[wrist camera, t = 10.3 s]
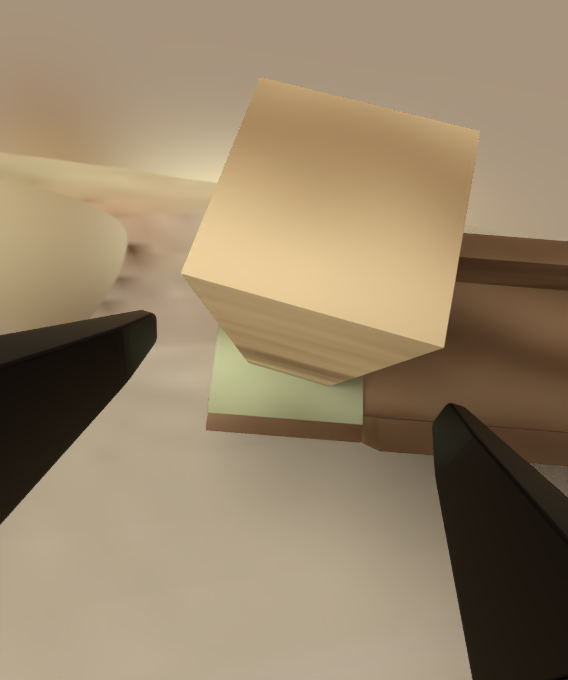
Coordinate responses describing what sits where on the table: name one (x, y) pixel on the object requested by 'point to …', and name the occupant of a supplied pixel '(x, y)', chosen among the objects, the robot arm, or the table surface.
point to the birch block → (334, 234)
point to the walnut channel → (435, 367)
